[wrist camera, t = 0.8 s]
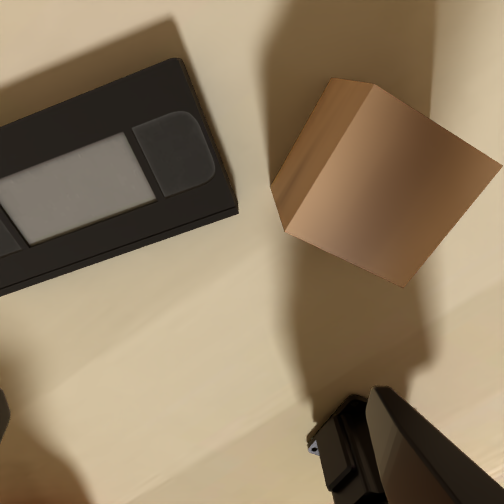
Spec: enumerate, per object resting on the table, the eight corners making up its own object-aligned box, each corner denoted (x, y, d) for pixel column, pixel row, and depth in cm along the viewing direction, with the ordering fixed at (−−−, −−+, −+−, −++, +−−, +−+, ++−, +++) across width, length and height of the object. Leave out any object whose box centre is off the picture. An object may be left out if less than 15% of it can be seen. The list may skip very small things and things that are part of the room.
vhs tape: (-79, 161, 19) (-111, 171, 17) (182, 56, 17) (177, 55, 16) (13, 279, 22) (-6, 298, 20) (238, 200, 21) (239, 213, 19)
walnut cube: (427, 137, 19) (503, 166, 14) (360, 232, 22) (403, 288, 16) (331, 77, 18) (374, 84, 12) (270, 186, 20) (284, 231, 15)
